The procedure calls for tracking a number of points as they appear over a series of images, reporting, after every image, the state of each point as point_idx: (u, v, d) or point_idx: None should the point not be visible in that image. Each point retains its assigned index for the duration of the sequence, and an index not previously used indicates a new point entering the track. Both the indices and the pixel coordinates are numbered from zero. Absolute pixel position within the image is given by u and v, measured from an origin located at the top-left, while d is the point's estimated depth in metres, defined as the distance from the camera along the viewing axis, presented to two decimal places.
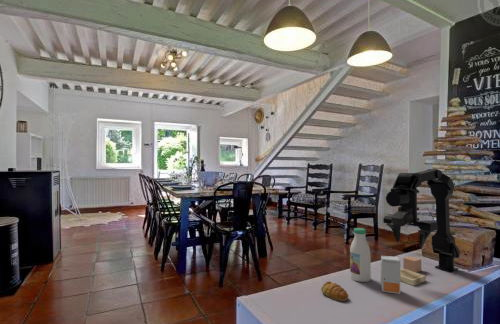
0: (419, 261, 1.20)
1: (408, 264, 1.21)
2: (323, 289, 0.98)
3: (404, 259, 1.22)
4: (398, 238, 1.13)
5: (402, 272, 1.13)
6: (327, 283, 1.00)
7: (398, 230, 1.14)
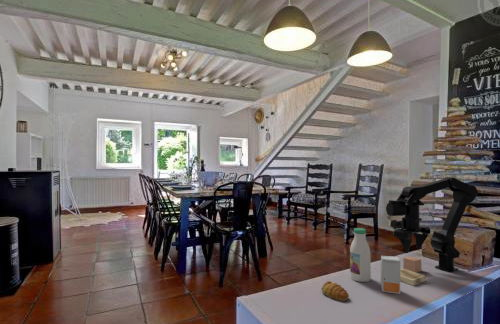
0: (419, 261, 1.20)
1: (408, 264, 1.21)
2: (323, 289, 0.98)
3: (404, 259, 1.22)
4: (418, 246, 1.24)
5: (402, 272, 1.13)
6: (327, 283, 1.00)
7: (420, 239, 1.24)
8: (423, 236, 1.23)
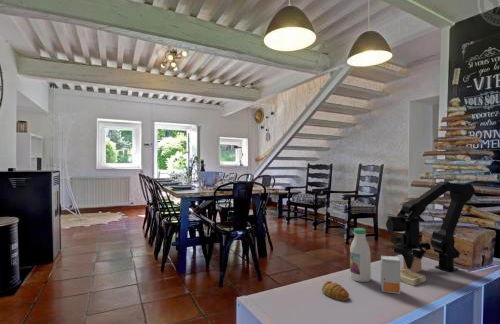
0: (419, 261, 1.20)
1: None
2: (324, 289, 0.98)
3: None
4: None
5: (402, 272, 1.13)
6: (328, 283, 1.00)
7: (417, 256, 1.23)
8: (421, 253, 1.22)
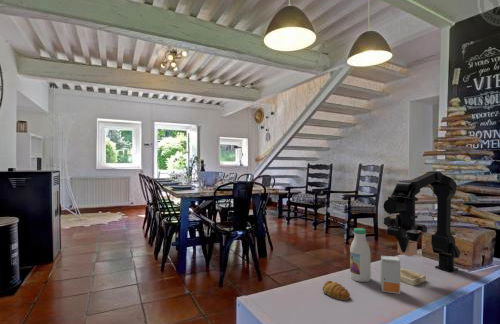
0: (414, 244, 1.10)
1: None
2: (324, 288, 0.99)
3: (398, 242, 1.12)
4: None
5: (402, 272, 1.13)
6: (328, 282, 1.00)
7: (413, 239, 1.13)
8: (416, 235, 1.12)
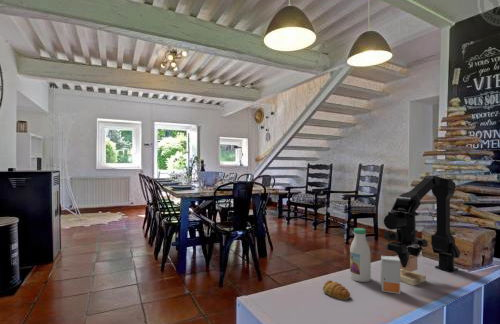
0: (415, 259, 1.10)
1: None
2: (325, 288, 0.99)
3: None
4: None
5: (402, 272, 1.13)
6: (328, 282, 1.00)
7: (413, 254, 1.12)
8: (417, 250, 1.11)
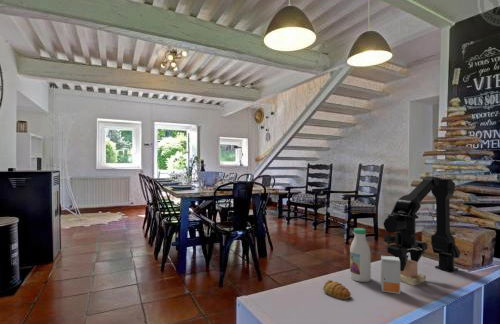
0: (415, 264, 1.10)
1: None
2: (325, 288, 0.99)
3: None
4: None
5: None
6: (329, 282, 1.01)
7: (415, 256, 1.13)
8: (419, 253, 1.12)
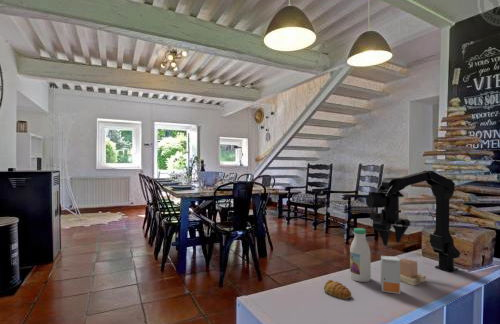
0: (415, 264, 1.10)
1: (403, 267, 1.11)
2: (326, 288, 0.99)
3: None
4: (397, 239, 1.21)
5: None
6: (329, 282, 1.01)
7: (399, 232, 1.21)
8: (402, 228, 1.20)
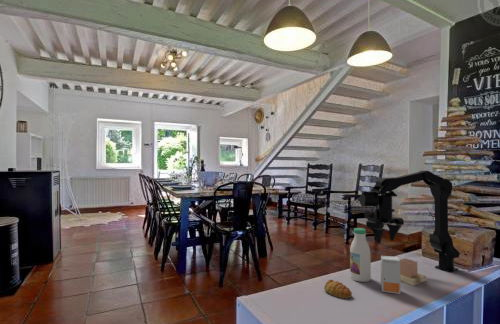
0: (415, 264, 1.10)
1: (403, 267, 1.11)
2: (326, 287, 1.00)
3: None
4: (391, 237, 1.24)
5: None
6: (330, 281, 1.01)
7: (393, 230, 1.24)
8: (396, 227, 1.23)
